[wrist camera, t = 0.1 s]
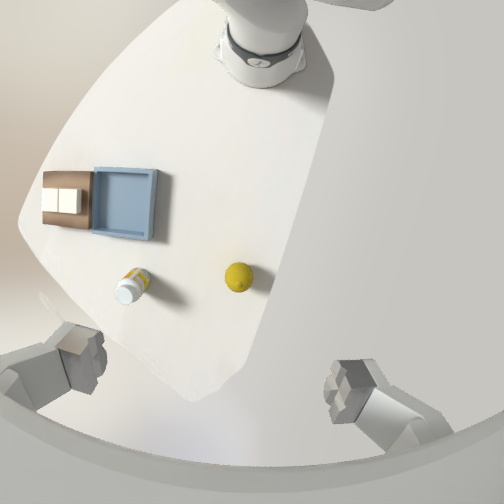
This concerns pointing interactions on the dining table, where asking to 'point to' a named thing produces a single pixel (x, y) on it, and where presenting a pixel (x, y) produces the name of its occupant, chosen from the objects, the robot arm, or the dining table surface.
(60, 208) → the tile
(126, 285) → the supplement bottle
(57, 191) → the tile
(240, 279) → the lemon
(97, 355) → the robot arm
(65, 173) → the flat wooden block
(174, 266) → the dining table surface
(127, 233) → the box
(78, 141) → the dining table surface
